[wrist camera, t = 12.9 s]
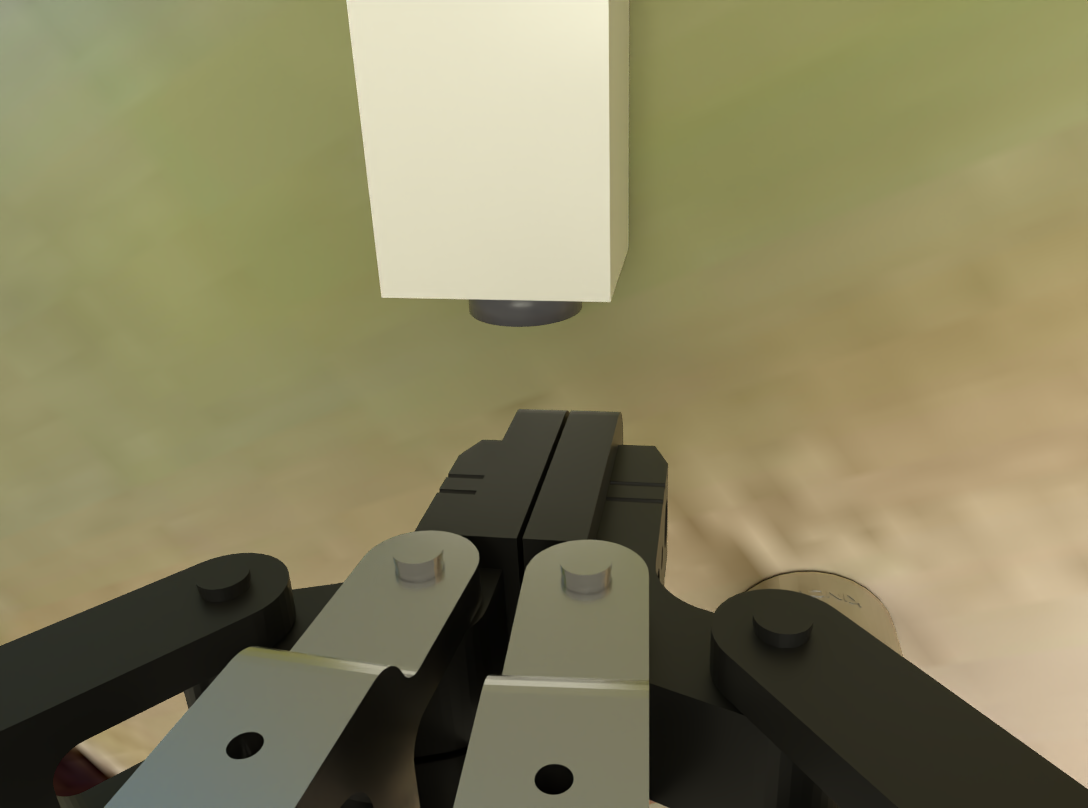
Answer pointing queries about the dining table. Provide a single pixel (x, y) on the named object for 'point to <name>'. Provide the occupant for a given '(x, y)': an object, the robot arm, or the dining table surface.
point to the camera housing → (496, 150)
